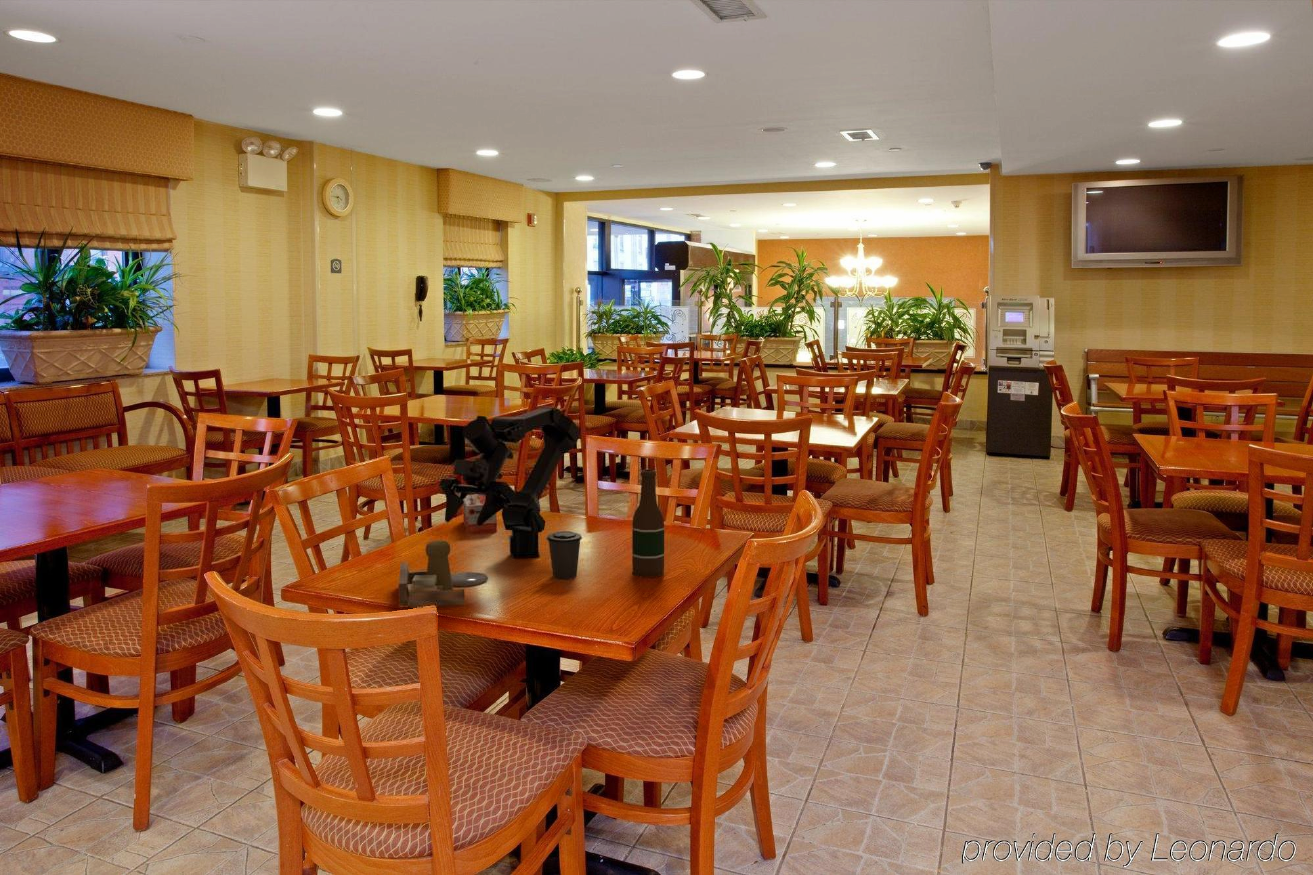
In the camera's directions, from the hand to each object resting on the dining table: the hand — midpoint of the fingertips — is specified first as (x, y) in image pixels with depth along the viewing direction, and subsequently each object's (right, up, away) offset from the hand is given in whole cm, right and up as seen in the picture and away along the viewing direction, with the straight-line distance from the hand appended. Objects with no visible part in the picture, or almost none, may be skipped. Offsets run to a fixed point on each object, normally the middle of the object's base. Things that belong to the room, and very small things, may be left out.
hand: (462, 523), depth 213 cm
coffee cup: (+22, -13, +5) cm, 26 cm away
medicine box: (-6, -6, +52) cm, 52 cm away
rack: (-4, -14, -8) cm, 17 cm away
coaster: (0, -13, +2) cm, 13 cm away
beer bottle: (+41, -12, +8) cm, 44 cm away
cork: (-4, -14, -6) cm, 16 cm away
